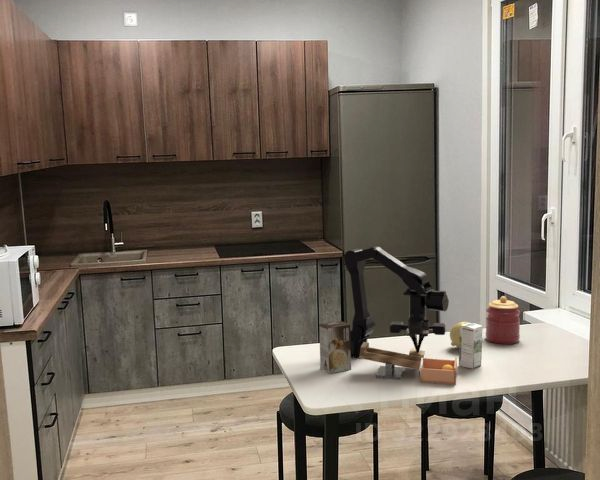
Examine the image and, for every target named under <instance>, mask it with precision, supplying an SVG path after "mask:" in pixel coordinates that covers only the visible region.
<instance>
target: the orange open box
mask: <svg viewBox="0 0 600 480" xmlns="http://www.w3.org/2000/svg"><path fill="white" fill-rule="evenodd" d="M447 364H448V365H451V366H452V367H453V368H454V370H442V367H443V366H444V365H447ZM457 366H458V357H454V360H453V359H442V358H441V359H440V358H439V359H438V358H425V357H424V358H422V365H421V368H419V370H420V371H419V372H420V373H419V374H420V375H419V378H420V379H419V382H420V383H427V384H441V385H442V384H443V385H444V384H445V385H455V386H456V385H457V384H456V383H457V375H458V374H457V373H458V372H457V369H458V368H457Z"/></svg>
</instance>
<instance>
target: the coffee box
mask: <svg viewBox="0 0 600 480" xmlns="http://www.w3.org/2000/svg"><path fill="white" fill-rule="evenodd" d="M318 328H319V360H320V361H319V365H320V370H322V371H323V372H325V373H327V374H330V375H331V374H335V373H339V372H345V371H349V370H352V357H351V334H350V331H351V324H350V323H347V322H344V321H342V320H339V321H334V322H333V321H331V322H327V323H321V324H320V323H319V327H318Z"/></svg>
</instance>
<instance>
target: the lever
mask: <svg viewBox="0 0 600 480" xmlns="http://www.w3.org/2000/svg"><path fill="white" fill-rule="evenodd" d="M368 343H369V342H368V341H367V342H363V344H362V345H361V348H360V356H359V358H358V359H361V360H367V361H371V362H377V363H380V364H381V363H382V364H385V363H392V365H395V367H404V368H408V369H412V370H417V371H419V370H420V367H421V362H422V359H423V358H425V353H426V351H425V350H419V352H416V349H415V348H410V350H409V354H406V353H401V352H397V351H391V350H387V349H381V348H375V347H370V346H369V347H367V346H368Z"/></svg>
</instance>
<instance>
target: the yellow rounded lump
mask: <svg viewBox="0 0 600 480" xmlns="http://www.w3.org/2000/svg"><path fill="white" fill-rule="evenodd" d="M467 323H470V322H468V321H460V322H457V323H456V324H454V325H453V326H452V327H451V328H450V331H449V338H450V341H451V342H450V345H451V347H457V348H459V338H460V326H461V325H464V324H467Z"/></svg>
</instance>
